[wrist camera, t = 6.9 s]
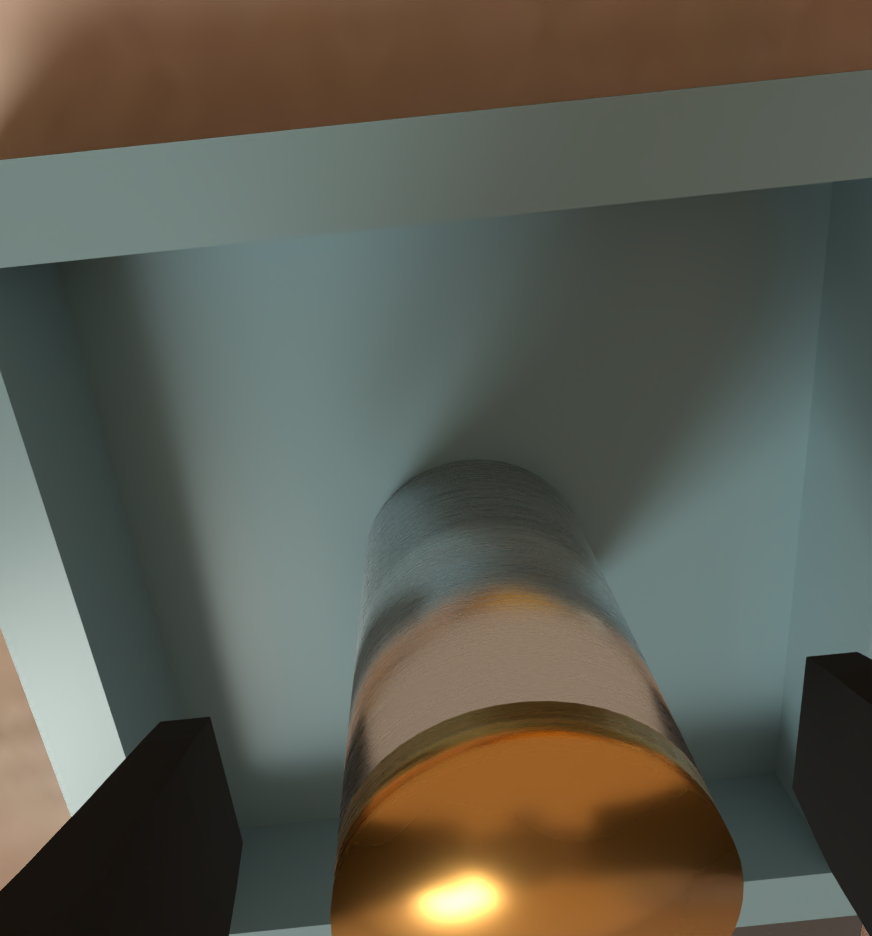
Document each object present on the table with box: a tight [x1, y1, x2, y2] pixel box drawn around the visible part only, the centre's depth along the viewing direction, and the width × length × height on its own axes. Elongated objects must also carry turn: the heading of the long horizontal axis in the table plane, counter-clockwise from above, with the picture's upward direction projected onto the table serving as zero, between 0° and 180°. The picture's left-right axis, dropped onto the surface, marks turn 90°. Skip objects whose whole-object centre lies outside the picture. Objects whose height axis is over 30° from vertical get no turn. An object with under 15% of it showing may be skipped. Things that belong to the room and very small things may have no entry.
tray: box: [0, 69, 872, 936], centre depth 13 cm, size 14×14×3 cm
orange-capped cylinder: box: [330, 460, 744, 936], centre depth 10 cm, size 4×4×7 cm
